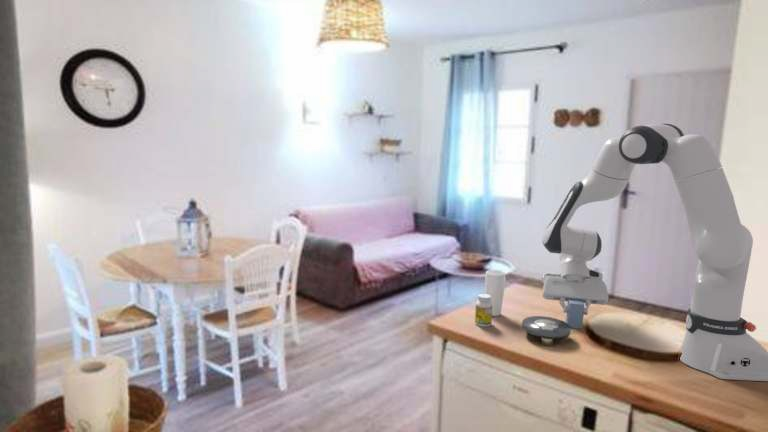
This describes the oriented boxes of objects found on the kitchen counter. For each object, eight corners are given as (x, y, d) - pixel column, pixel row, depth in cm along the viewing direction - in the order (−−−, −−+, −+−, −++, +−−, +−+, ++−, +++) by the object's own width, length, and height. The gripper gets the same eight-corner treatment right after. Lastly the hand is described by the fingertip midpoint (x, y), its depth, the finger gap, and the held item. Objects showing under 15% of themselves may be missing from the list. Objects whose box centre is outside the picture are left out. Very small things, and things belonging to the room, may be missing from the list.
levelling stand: (566, 330, 147) (567, 316, 146) (572, 349, 134) (574, 334, 133) (520, 325, 150) (521, 312, 150) (522, 343, 137) (523, 328, 136)
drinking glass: (503, 318, 156) (506, 275, 154) (483, 316, 158) (485, 274, 155) (502, 311, 163) (505, 270, 161) (483, 309, 164) (485, 269, 162)
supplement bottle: (494, 325, 150) (496, 297, 149) (481, 328, 148) (482, 299, 146) (485, 319, 155) (486, 292, 153) (471, 321, 153) (473, 294, 151)
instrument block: (580, 323, 154) (582, 300, 152) (582, 328, 149) (584, 304, 148) (566, 321, 155) (568, 298, 153) (567, 326, 150) (569, 303, 149)
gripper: (542, 268, 159) (543, 305, 151) (607, 273, 154) (611, 312, 146) (540, 277, 164) (541, 313, 156) (603, 283, 159) (606, 320, 151)
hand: (575, 312), depth 151 cm, fingers closed on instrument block, 4 cm apart
